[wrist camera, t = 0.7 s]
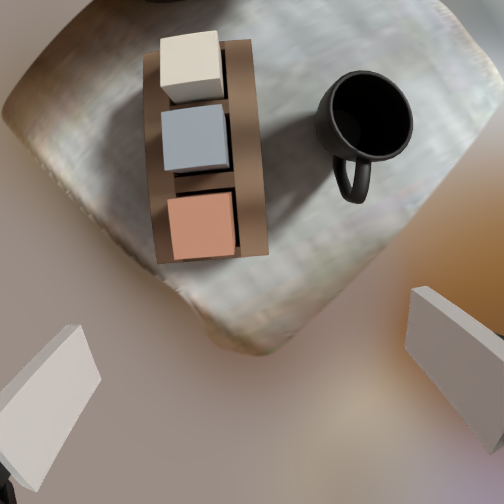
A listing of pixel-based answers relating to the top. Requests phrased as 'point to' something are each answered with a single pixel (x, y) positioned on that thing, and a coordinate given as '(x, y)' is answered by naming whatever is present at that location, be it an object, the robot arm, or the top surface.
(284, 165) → the top surface
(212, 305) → the top surface
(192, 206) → the terracotta key
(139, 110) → the top surface
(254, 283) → the top surface
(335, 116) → the mug
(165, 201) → the brown wooden block
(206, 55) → the ivory key
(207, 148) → the slate key
